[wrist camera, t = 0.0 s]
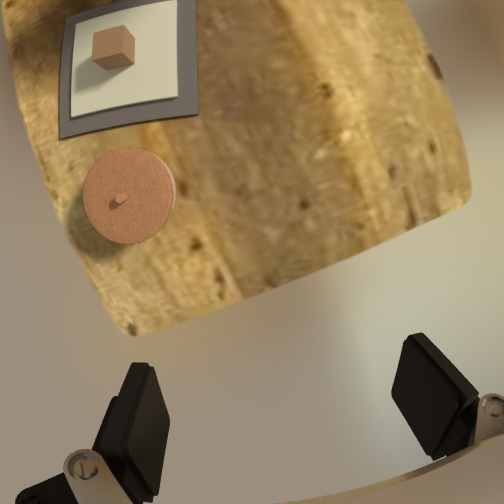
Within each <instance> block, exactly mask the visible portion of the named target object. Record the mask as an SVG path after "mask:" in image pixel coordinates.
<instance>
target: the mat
mask: <svg viewBox="0 0 504 504" xmlns="http://www.w3.org/2000/svg"><path fill="white" fill-rule="evenodd" d="M164 1H170V0H121V1H117V2H114V3H110V4H107V5H103V6H100V7H96V8H93V9H90V10H87V11H84V12H81V13H78V14H75V15H73V16H70V17H67V18H66V22H65V29H64V37H63V46H62V57H61V72H60V99H59V119H60V139H63V138H67V137H70V136H74V135H79V134H83V133H87V132H91V131H96V130H101V129H105V128H110V127H115V126H121V125H126V124H132V123H138V122H144V121H150V120H157V119H164V118H171V117H179V116H188V115H198V114H199V101H198V77H197V43H196V0H177V78H178V97H177V98H169V99H162V100H155V101H149V102H143V103H137V104H132V105H127V106H121V107H117V108H112V109H107V110H103V111H98V112H94V113H90V114H86V115H82V116H78V117H71V84H72V62H73V49H74V38H75V29H76V24H78V23H81V22H84V21H87V20H90V19H93V18H96V17H99V16H103V15H106V14H110V13H114V12H117V11H121V10H125V9H129V8H134V7H138V6H143V5H148V4H153V3H158V2H164Z"/></svg>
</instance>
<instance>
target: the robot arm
mask: <svg viewBox="0 0 504 504" xmlns="http://www.w3.org/2000/svg"><path fill="white" fill-rule="evenodd" d="M391 394H392V398H393V400H394V401H395V403H396V405H397V406H398V408H399V410H400V411H401V413H402V415H403V416H404V418H405V419H406V421H407V423H408V425H409V426H410V428H411V430H412V431H413V433H414V435H415V436H416V438H417V440H418V441H419V443H420V445H421V447H422V448H423V450H424V452H425V453H426V455H428V456H431V457H432V460H433V461H435V460H437V459H439V458H442V457H444V456H445V455H446V458H444V459H441V460H439V461H436V462H434V463H432V464H429V465H427V466H424V467H422V468H419V469H417V470H414V471H411V472H408V473H406V474H403V475H400V476H397V477H395V478H391V479H388V480H385V481H382V482H378V483H375V484H372V485H368V486H365V487H361V488H357V489H353V490H349V491H345V492H341V493H337V494H333V495H328V496H323V497H317V498H312V499H306V500H300V501H294V502H286V503H279V504H504V397H503V396H501V395H499V394H495V393H494V394H493V393H490V394H486V395H484V396H483V397H482V398H481V399H480V398H479V397H478V394H479V392H478V391H477V390H476V389H475V388H474V386H473V385H472V384H471V383H470V382H469V381H468V380H467V379H466V378H465V377H464V376H463V375H462V373H461V372H460V371H459V370H458V369H457V368H456V367H455V366H454V365H453V364H452V363H451V362H450V360H449V359H448V358H447V357H446V356H445V355H444V354H443V353H442V352H441V351H440V350H439V349H438V348H437V347H436V346H435V345H434V344H433V343H432V342H431V341H430V340H429V339H428V337H427V336H426V335H424V334H423V333H416V334H412V335H409V336H408V337H407V339H406V340H405V341H404V342H403V347H402V351H401V356H400V360H399V364H398V368H397V372H396V375H395V380H394V383H393V387H392V390H391ZM169 426H170V418H169V414H168V411H167V408H166V405H165V402H164V399H163V396H162V393H161V389H160V386H159V383H158V380H157V376H156V373H155V369H154V367H150V366H149V364H148V363H137V362H133V363H132V364H131V365H130V368H129V370H128V373H127V375H126V378H125V380H124V382H123V385H122V387H121V390H120V392H119V395H118V396H114V397H113V398H112V399H111V401H110V404H109V406H108V409H107V411H106V414H105V416H104V419H103V421H102V424H101V427H100V429H99V432H98V434H97V437H96V439H95V442H94V445H93V447H92V450H89V449H81V450H77V451H75V452H73V453H71V454H70V455H69V456H68V457H67V458H66V460H65V462H64V465H63V470H64V472H63V473H61V474H59V475H57V476H54V477H52V478H50V479H48V480H45V481H43V482H41V483H38V484H36V485H34V486H31V487H29V488H26V489H24V490H23V491H21V492H20V493H19V494H18V496H17V498H16V500H15V504H143V502H150V503H152V502H153V496H157V495H158V493H159V488H160V481H161V474H162V468H163V462H164V455H165V449H166V444H167V438H168V431H169Z"/></svg>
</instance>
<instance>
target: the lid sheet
mask: <svg viewBox="0 0 504 504" xmlns="http://www.w3.org/2000/svg"><path fill="white" fill-rule="evenodd" d="M177 97H178V78H177V0H170V1H164V2H158V3H153V4H148V5H143V6H138V7H134V8H129V9H125V10H121V11H117V12H114V13H110V14H106V15H103V16H99V17H96V18H93V19H90V20H87V21H84V22H81V23H78V24H76V29H75V38H74V49H73V62H72V84H71V117H78V116H82V115H86V114H90V113H94V112H98V111H103V110H107V109H112V108H117V107H121V106H127V105H132V104H137V103H143V102H149V101H155V100H162V99H169V98H177Z"/></svg>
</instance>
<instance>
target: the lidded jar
mask: <svg viewBox="0 0 504 504" xmlns="http://www.w3.org/2000/svg"><path fill="white" fill-rule="evenodd" d="M175 198H176V186H175V181H174V177H173V175H172V173H171V170H170V169H169V167H168V166H167V165H166V164H165V162H164V161H163V160H161V159H160V158H159V157H158V156H156V155H154V154H153V153H151V152H148V151H146V150H143V149H140V148H134V147H122V148H117V149H114V150H111V151H109V152H107V153H105V154H104V155H102V156H101V157H100V158H99V159H98V160H97V161H96V162H95V163H94V164H93V165H92V167H91V169H90V170H89V172H88V174H87V176H86V179H85V182H84V187H83V204H84V209H85V212H86V215H87V217H88V219H89V221H90V223H91V224H92V226H93V227H94V228H95V229H96V231H97V232H98V233H100V234H101V235H102V236H103V237H105V238H107V239H108V240H110V241H113V242H115V243H120V244H137V243H140V242H143V241H145V240H147V239H149V238H151V237H152V236H154V235H155V234H156V233H157V232H158V231H159V230H160V229H161V228H162V227H163V225H164V224H165V223H166V221H167V219H168V218H169V216H170V214H171V212H172V210H173V207H174V204H175Z"/></svg>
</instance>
